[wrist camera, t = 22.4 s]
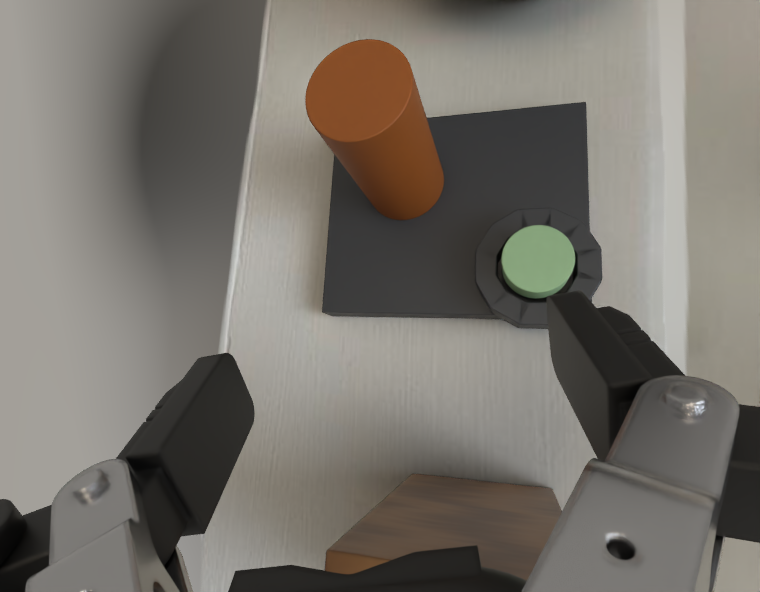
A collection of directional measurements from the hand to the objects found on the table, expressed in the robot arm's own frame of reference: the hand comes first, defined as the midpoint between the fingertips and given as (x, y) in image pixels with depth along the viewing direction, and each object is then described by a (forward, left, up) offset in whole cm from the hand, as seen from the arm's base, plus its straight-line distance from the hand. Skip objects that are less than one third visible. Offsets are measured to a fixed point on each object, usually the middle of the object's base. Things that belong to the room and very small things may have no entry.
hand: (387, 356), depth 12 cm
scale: (-1, +10, -18) cm, 20 cm away
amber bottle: (-4, +12, -16) cm, 20 cm away
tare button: (+4, +6, -15) cm, 16 cm away
